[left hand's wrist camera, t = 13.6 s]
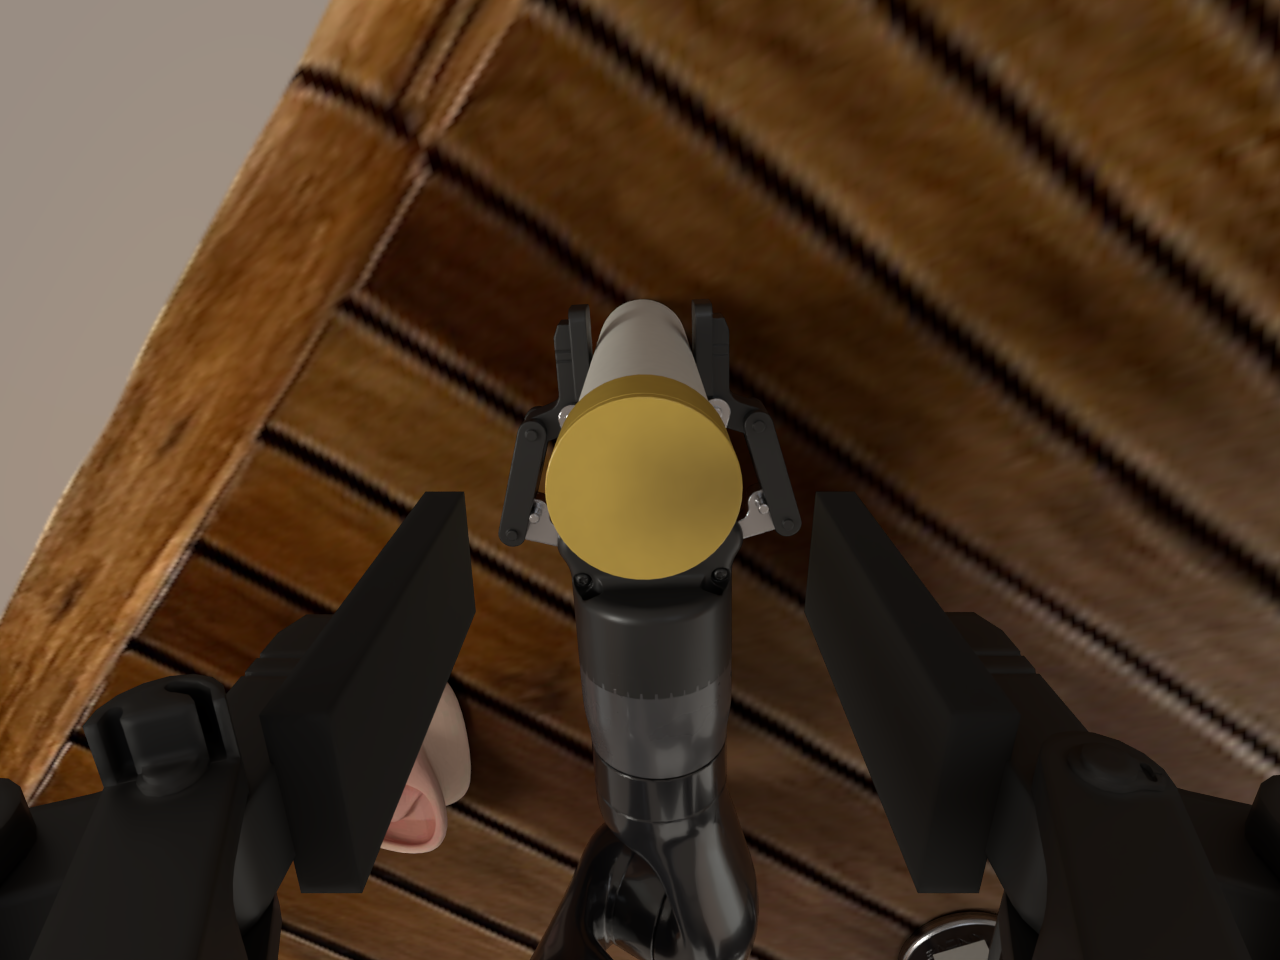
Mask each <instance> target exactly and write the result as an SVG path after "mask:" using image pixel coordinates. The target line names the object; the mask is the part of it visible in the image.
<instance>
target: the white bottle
mask: <svg viewBox="0 0 1280 960" xmlns="http://www.w3.org/2000/svg"><path fill="white" fill-rule="evenodd" d="M638 374H648V375H658V376H664V377H667V378H671V379H674V380H677V381H679V382H682V383H684V384H686V385H688V386H689V387H691V388H693V389H694V390H696V391H697V392H698V393H700V394H701V395H702V396H704V397H705V398H706V399H707V396H706V393H705V390H704V387H703V384H702V381H701V378H700V375H699V372H698V369H697V366H696V363H695V360H694V357H693V354H692V351H691V349H690V346H689V343H688V340H687V337H686V334H685V331H684V328H683V325H682V323H681V321H680V320H679V318H678V317H677V315H676V314H675V313H674V312H673V311H672V310H670V309H669V308H668V307H666V306H665V305H663V304H661V303H659V302H656V301H652V300H634V301H630V302H627V303H625V304H623V305H621V306H619V307H618V308H617V309H615V310H614V311H613V312H612V313H611V314H610V315H609V317H608V318H607V320H606V321H605V323H604V325H603V328H602V330H601V333H600V337H599V340H598V343H597V346H596V349H595V352H594V355H593V358H592V361H591V364H590V368H589V371H588V374H587V377H586V380H585V383H584V386H583V389H582V392H581V395H580V398H579V401H580V400H581V399H582V398H583V397H584V396H585V395H586V394H588V393H589V392H590V391H592V390H593V389H595V388H596V387H598V386H600V385H602V384H604V383H606V382H608V381H611V380H613V379H616V378H620V377H624V376H630V375H638ZM707 400H708V399H707Z"/></svg>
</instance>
